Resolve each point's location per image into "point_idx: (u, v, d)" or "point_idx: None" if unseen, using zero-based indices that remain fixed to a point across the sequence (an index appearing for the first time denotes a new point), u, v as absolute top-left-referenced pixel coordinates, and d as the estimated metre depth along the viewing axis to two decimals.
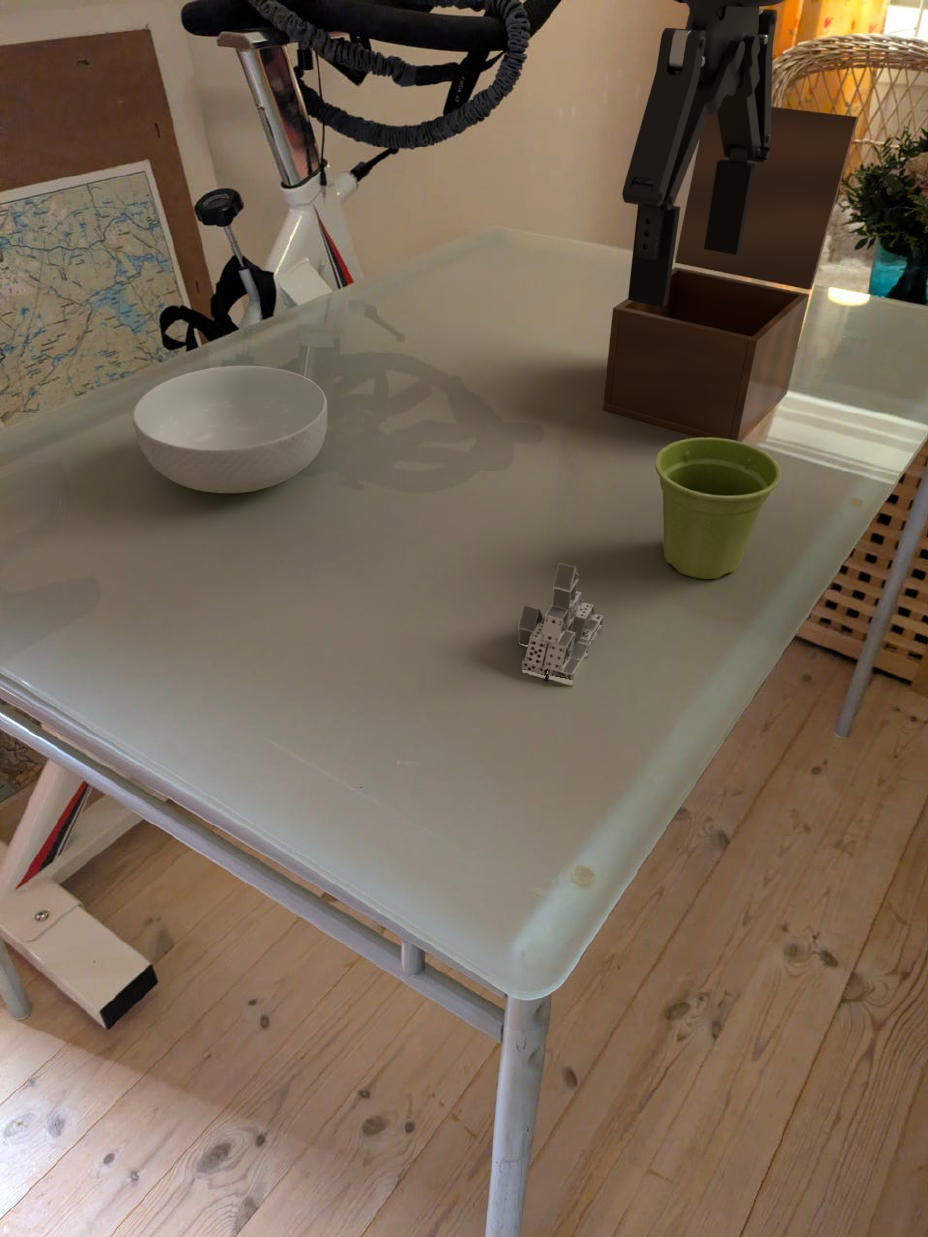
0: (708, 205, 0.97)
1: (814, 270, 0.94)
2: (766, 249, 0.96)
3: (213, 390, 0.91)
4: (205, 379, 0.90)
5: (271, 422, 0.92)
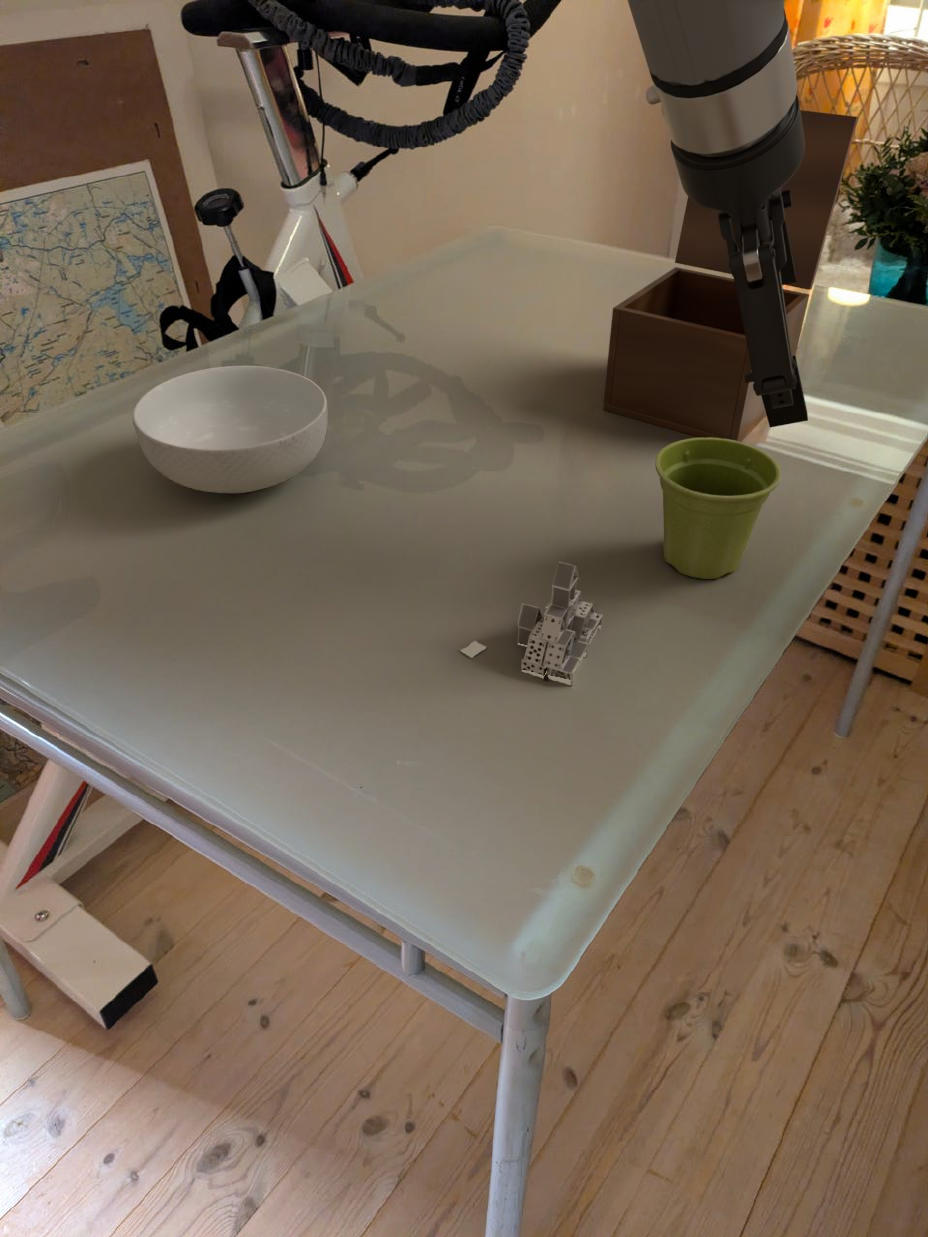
0: None
1: (814, 270, 0.94)
2: None
3: (213, 390, 0.91)
4: (205, 379, 0.90)
5: (271, 422, 0.92)
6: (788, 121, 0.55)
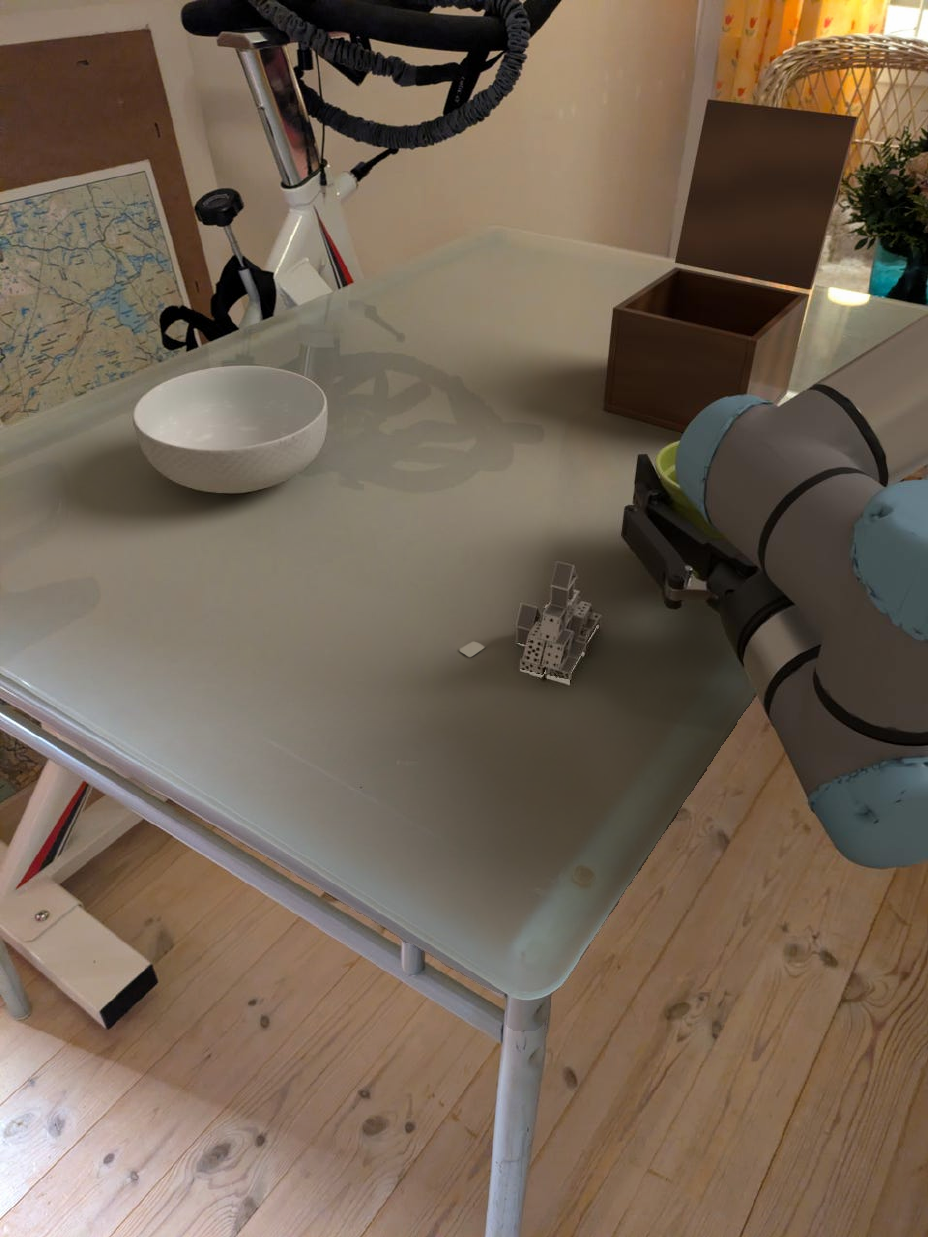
0: (708, 205, 0.97)
1: (814, 270, 0.94)
2: (766, 249, 0.96)
3: (213, 390, 0.91)
4: (205, 379, 0.90)
5: (271, 422, 0.92)
6: None
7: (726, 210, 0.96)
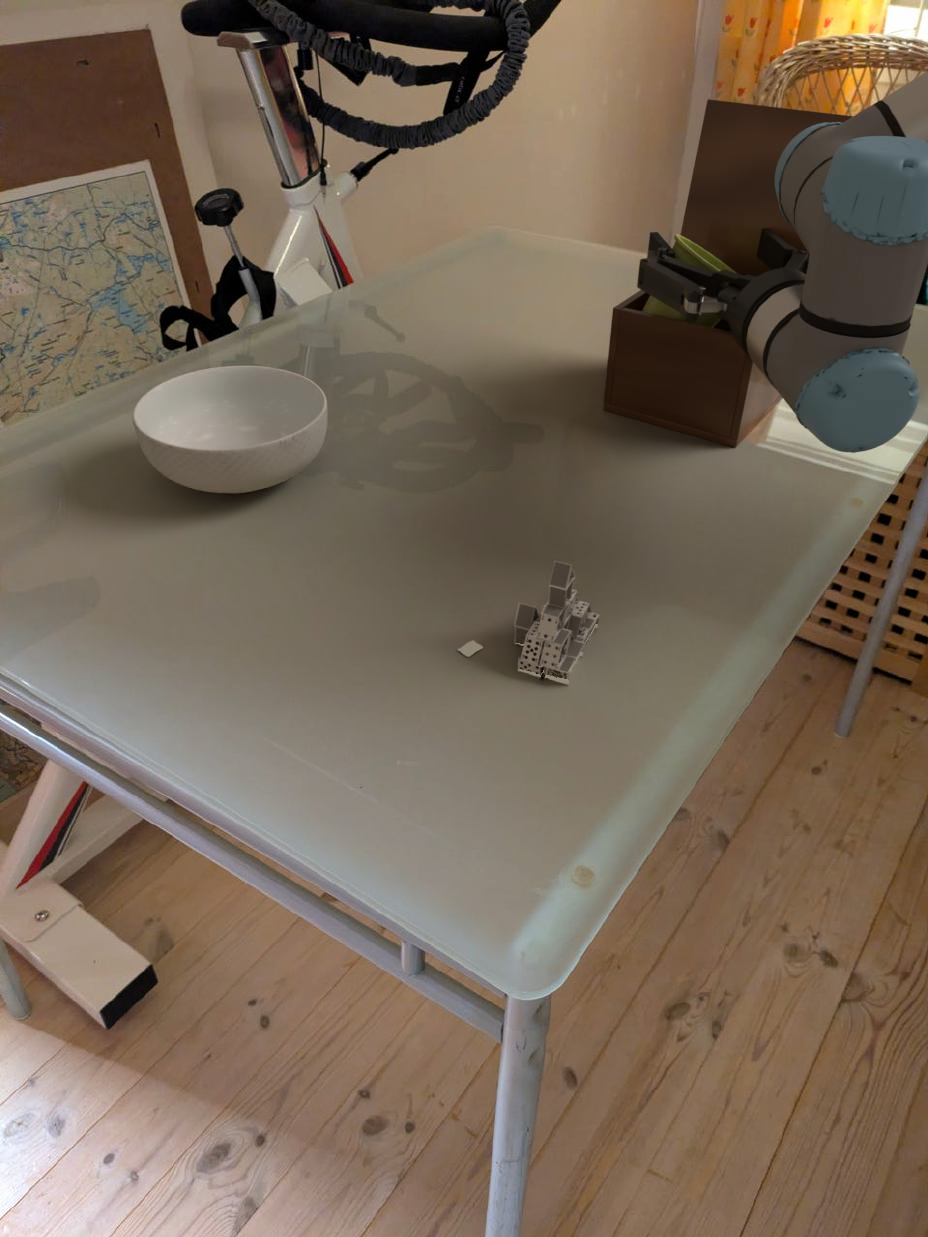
0: (708, 205, 0.97)
1: None
2: None
3: (213, 390, 0.91)
4: (205, 379, 0.90)
5: (271, 422, 0.92)
6: None
7: (726, 210, 0.96)
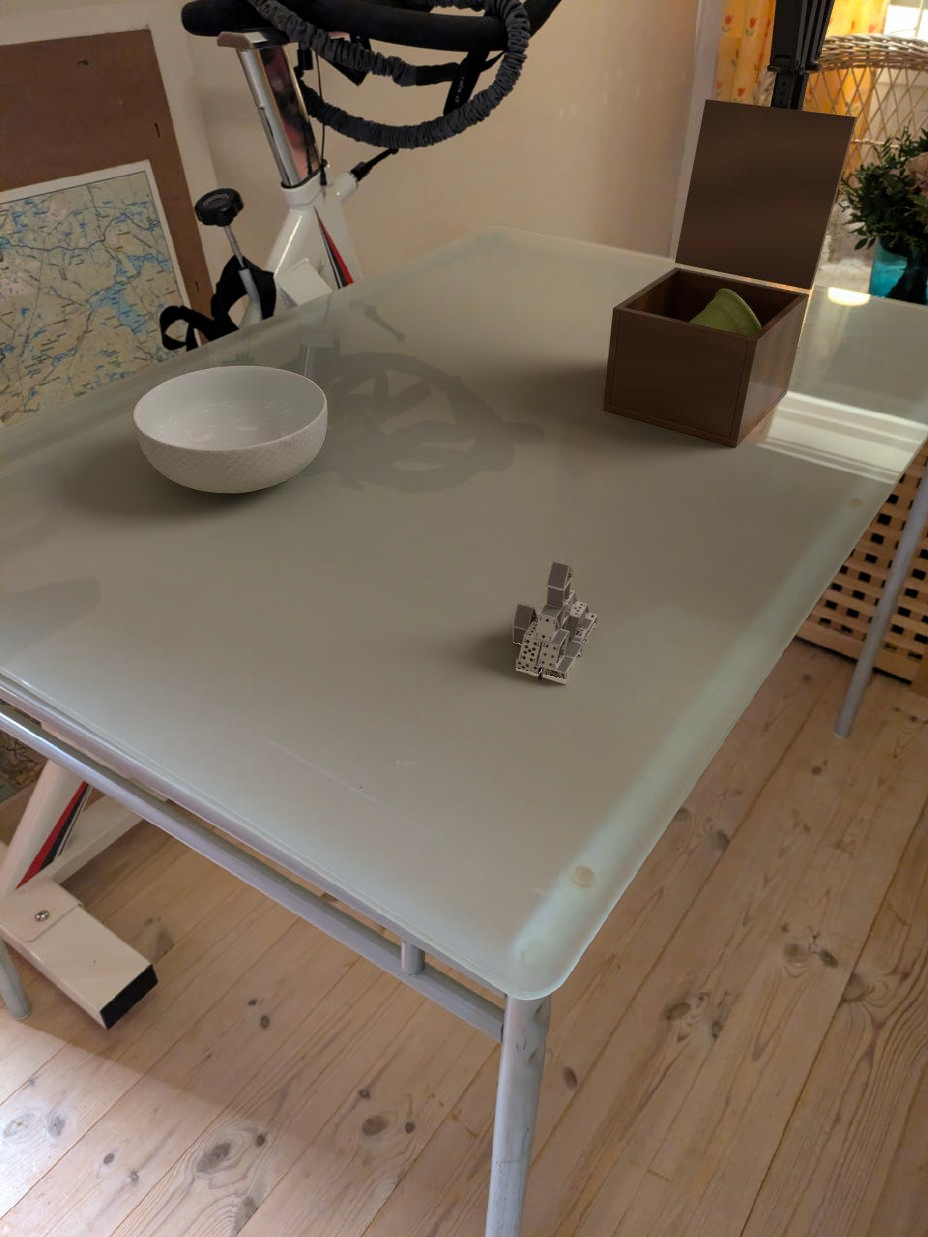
0: (707, 206, 0.97)
1: (814, 270, 0.94)
2: (766, 249, 0.96)
3: (213, 390, 0.91)
4: (205, 379, 0.90)
5: (271, 422, 0.92)
6: None
7: (725, 210, 0.96)
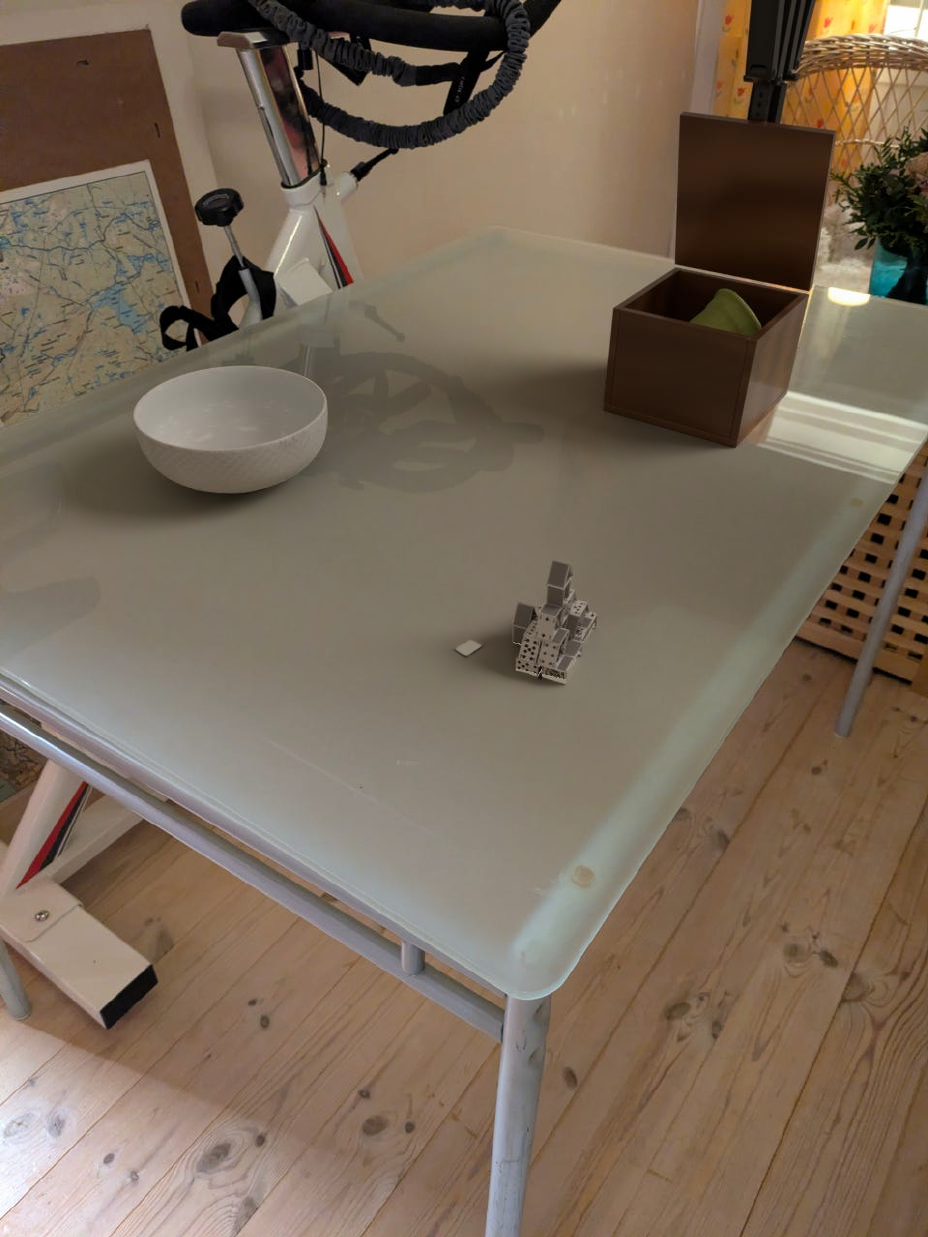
0: (698, 214, 0.96)
1: (811, 274, 0.94)
2: (761, 254, 0.95)
3: (213, 390, 0.91)
4: (205, 379, 0.90)
5: (271, 422, 0.92)
6: None
7: (716, 218, 0.95)
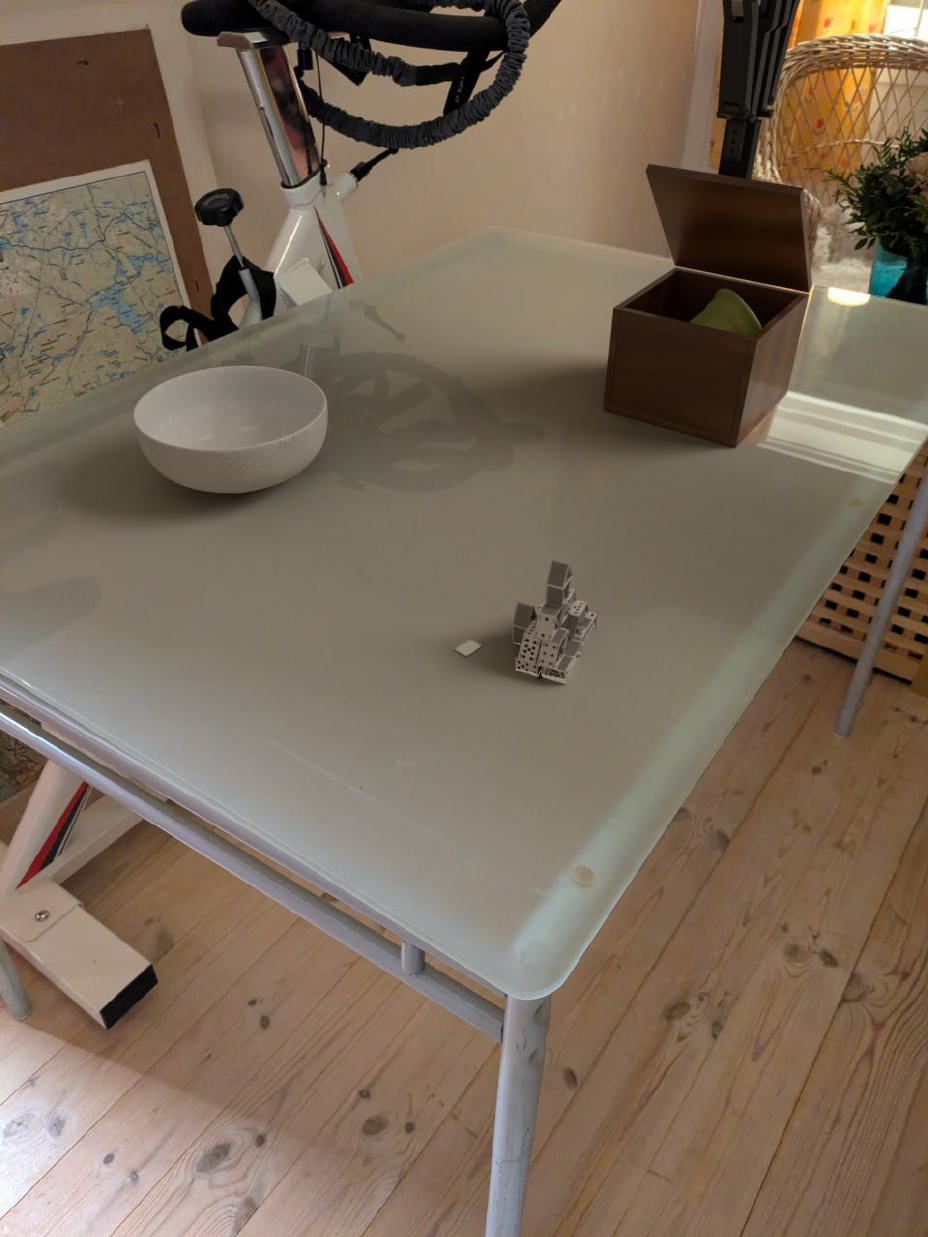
0: (686, 236, 0.95)
1: (807, 282, 0.94)
2: (755, 266, 0.95)
3: (213, 390, 0.91)
4: (205, 379, 0.90)
5: (271, 422, 0.92)
6: None
7: (704, 240, 0.94)
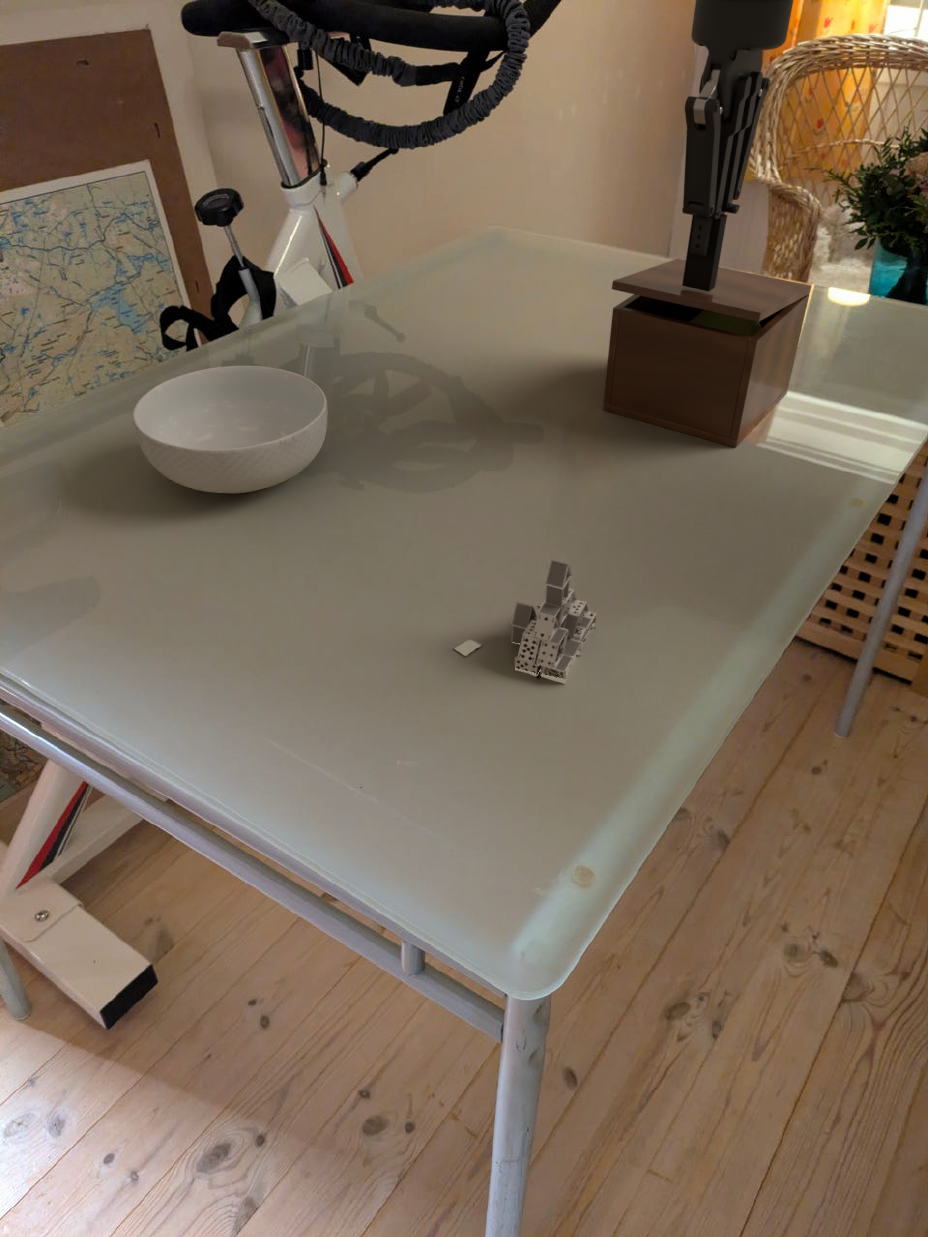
0: None
1: (803, 295, 0.94)
2: None
3: (213, 390, 0.91)
4: (205, 379, 0.90)
5: (271, 422, 0.92)
6: None
7: None
